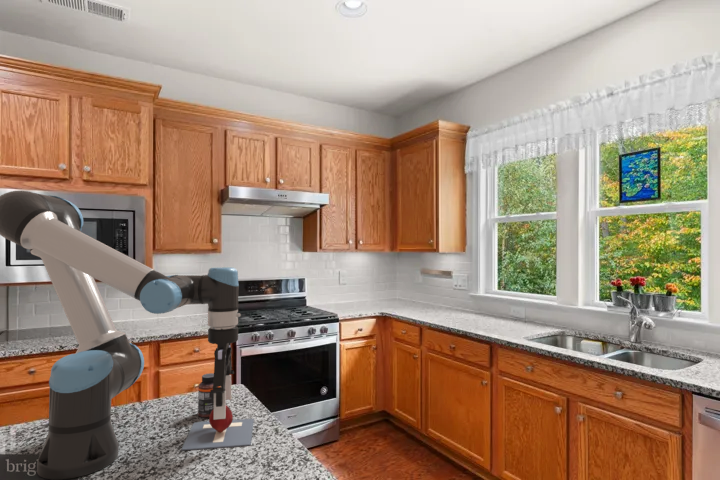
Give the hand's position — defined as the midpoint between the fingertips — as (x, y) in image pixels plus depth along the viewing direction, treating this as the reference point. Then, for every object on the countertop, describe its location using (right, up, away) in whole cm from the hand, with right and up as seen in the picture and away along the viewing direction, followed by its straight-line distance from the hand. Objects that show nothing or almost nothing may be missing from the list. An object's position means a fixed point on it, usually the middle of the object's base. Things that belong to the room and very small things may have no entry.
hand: (222, 408), depth 110 cm
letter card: (-1, -7, 0) cm, 7 cm away
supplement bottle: (-8, -7, +13) cm, 17 cm away
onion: (-1, -6, 0) cm, 6 cm away
